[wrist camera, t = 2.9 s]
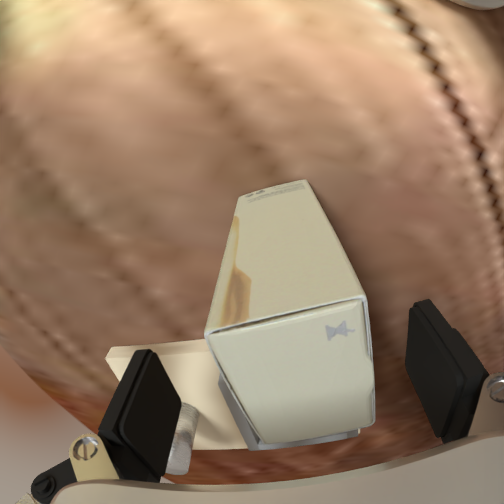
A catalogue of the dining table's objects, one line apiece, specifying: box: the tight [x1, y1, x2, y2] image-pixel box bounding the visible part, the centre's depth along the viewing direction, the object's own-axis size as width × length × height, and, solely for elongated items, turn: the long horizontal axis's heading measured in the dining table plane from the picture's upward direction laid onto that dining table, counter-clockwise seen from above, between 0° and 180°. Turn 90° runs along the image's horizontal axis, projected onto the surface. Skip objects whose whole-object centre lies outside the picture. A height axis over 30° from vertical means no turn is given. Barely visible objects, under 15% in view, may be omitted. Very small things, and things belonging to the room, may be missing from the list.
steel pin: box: [166, 402, 199, 475], centre depth 23 cm, size 3×3×6 cm
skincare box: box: [204, 179, 375, 445], centre depth 14 cm, size 6×4×12 cm
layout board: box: [105, 339, 360, 451], centre depth 25 cm, size 20×14×3 cm
